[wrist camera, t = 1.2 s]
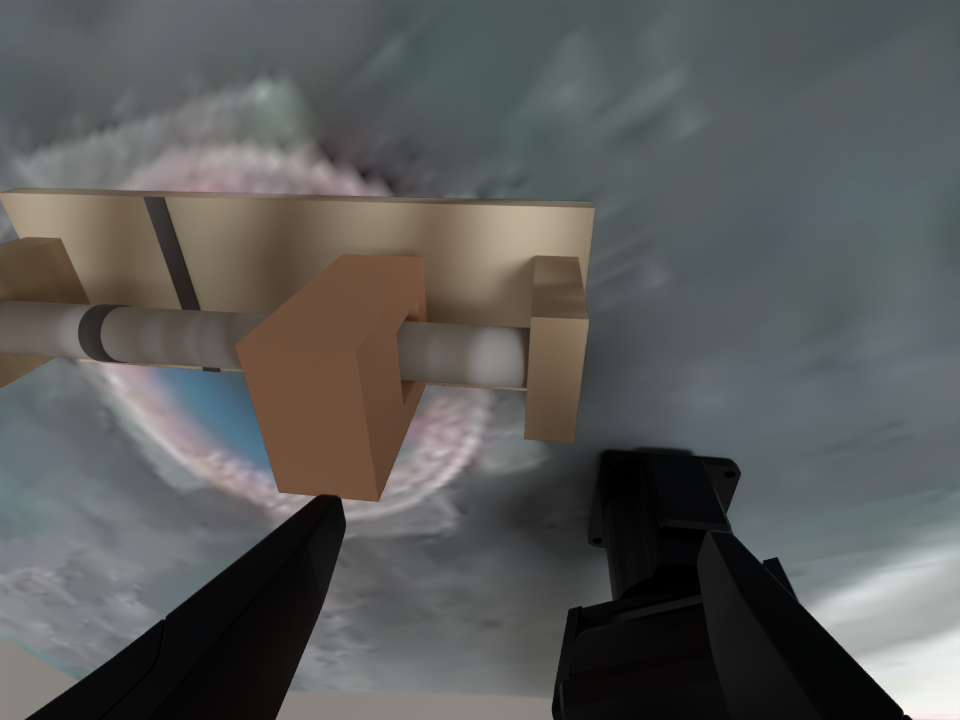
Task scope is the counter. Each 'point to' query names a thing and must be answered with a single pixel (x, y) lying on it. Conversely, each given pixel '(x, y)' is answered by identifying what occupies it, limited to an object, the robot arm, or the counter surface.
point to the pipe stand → (298, 282)
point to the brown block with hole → (337, 376)
